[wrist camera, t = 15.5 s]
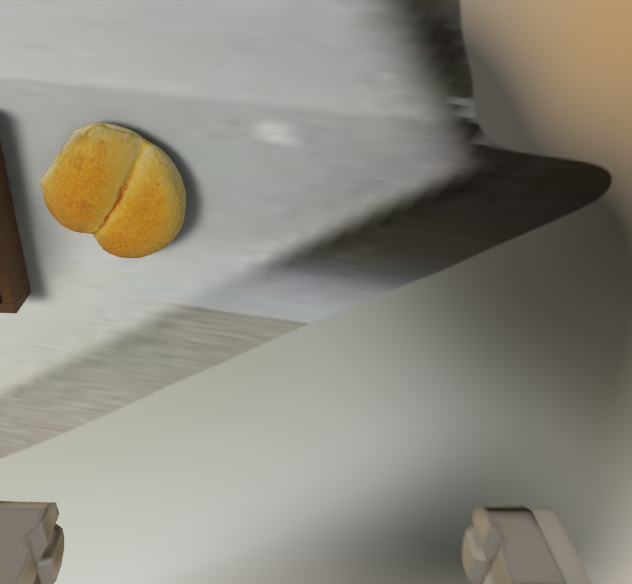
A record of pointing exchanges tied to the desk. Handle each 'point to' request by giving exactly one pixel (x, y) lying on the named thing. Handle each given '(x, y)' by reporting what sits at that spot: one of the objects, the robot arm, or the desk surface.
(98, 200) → the bread roll
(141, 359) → the desk surface
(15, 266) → the serving tray
